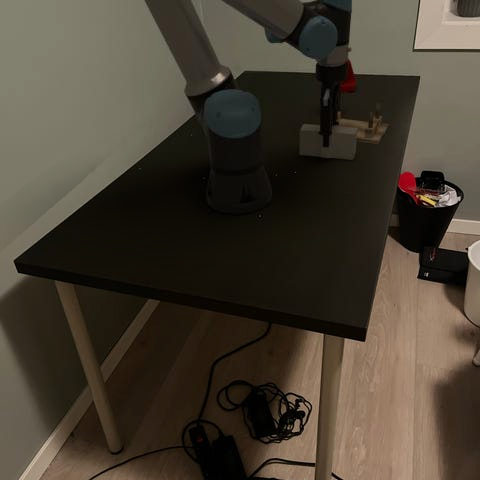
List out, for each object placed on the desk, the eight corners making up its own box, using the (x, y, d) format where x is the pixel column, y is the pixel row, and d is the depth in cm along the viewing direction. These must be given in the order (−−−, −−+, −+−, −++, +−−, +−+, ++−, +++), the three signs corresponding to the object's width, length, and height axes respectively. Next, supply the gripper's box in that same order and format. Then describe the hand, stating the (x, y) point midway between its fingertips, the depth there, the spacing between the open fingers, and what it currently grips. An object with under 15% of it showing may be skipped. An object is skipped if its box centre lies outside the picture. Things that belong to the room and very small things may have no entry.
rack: (377, 144, 129) (380, 117, 124) (314, 136, 136) (315, 110, 132) (388, 127, 137) (391, 102, 133) (328, 120, 145) (329, 96, 140)
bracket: (328, 92, 165) (329, 62, 159) (330, 86, 170) (331, 57, 164) (354, 92, 163) (356, 62, 157) (355, 86, 168) (357, 57, 162)
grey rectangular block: (353, 159, 122) (355, 134, 118) (299, 154, 127) (299, 129, 123) (355, 153, 125) (357, 127, 121) (303, 148, 130) (303, 124, 126)
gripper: (341, 73, 105) (336, 169, 118) (353, 52, 118) (347, 141, 131) (308, 72, 107) (306, 166, 121) (323, 51, 120) (320, 138, 133)
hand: (327, 153), depth 126 cm, fingers closed on grey rectangular block, 4 cm apart
